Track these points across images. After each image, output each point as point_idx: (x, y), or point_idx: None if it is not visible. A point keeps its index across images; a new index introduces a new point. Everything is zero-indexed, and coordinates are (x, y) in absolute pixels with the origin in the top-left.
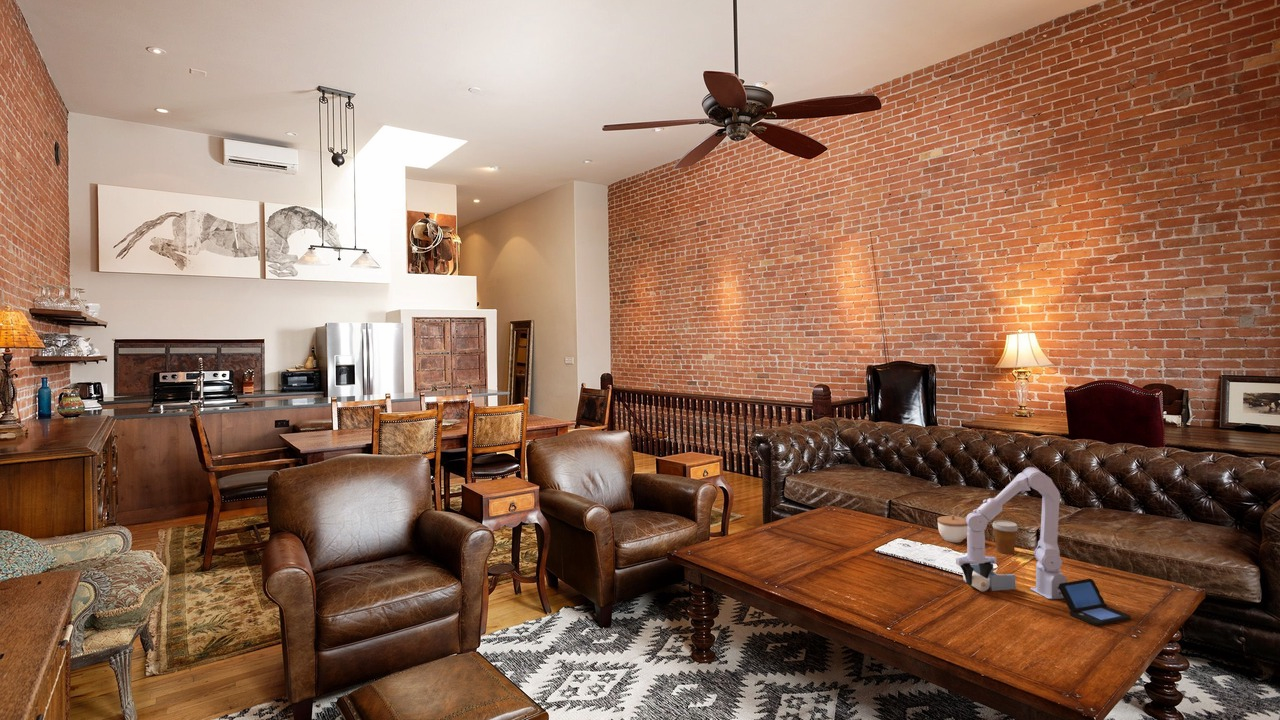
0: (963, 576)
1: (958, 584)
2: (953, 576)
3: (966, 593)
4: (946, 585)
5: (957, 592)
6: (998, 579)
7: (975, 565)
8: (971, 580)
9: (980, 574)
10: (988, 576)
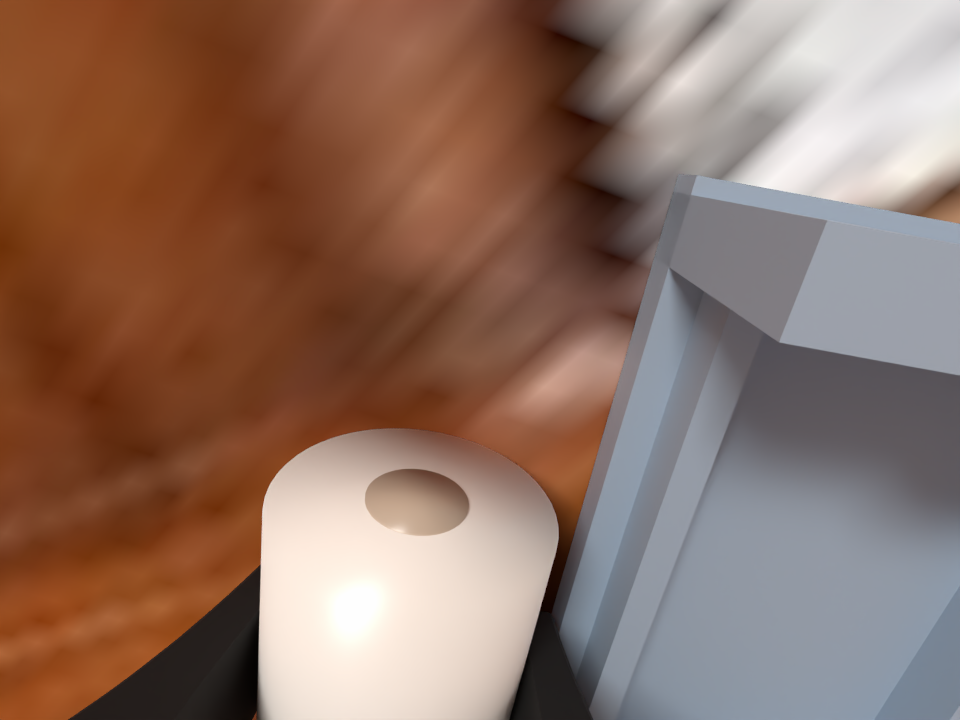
0: (270, 493)
1: (224, 417)
2: (382, 60)
3: (149, 660)
4: (12, 385)
5: (52, 608)
6: None
7: (935, 360)
8: (243, 717)
9: (539, 709)
10: (924, 442)
